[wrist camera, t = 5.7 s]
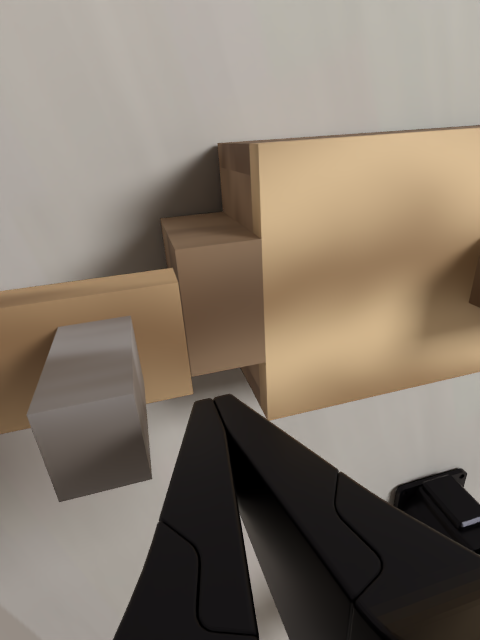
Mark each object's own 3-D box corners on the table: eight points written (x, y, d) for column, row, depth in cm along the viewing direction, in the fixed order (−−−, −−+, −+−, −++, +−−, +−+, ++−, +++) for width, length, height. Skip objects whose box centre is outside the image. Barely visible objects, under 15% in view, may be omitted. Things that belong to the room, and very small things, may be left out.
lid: (539, 344, 21) (648, 398, 17) (260, 407, 18) (305, 494, 13) (611, 118, 16) (791, 109, 12) (249, 143, 13) (313, 144, 8)
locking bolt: (187, 370, 14) (218, 487, 9) (-22, 411, 13) (-110, 573, 8) (172, 267, 13) (202, 345, 8) (-70, 300, 11) (-221, 423, 6)
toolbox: (467, 309, 25) (557, 353, 20) (181, 364, 21) (199, 436, 16) (508, 123, 21) (639, 116, 15) (149, 147, 17) (161, 150, 11)
